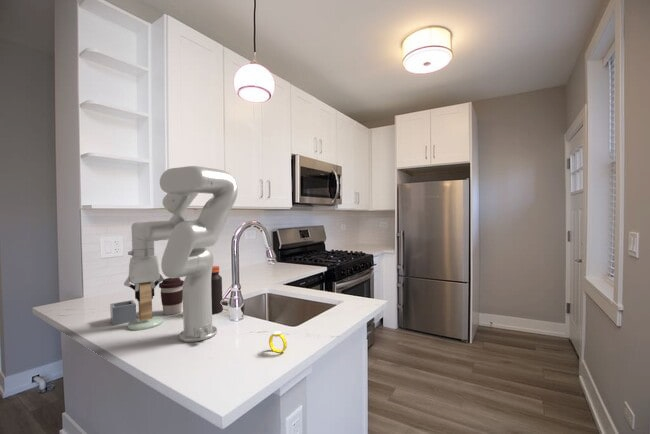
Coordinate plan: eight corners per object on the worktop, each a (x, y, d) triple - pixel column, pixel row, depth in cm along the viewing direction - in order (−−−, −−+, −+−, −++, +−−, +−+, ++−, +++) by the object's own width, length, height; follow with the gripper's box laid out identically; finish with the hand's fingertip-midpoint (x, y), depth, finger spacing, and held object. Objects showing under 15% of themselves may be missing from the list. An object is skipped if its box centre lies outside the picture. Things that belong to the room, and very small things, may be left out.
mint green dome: (166, 324, 121) (166, 321, 121) (130, 332, 113) (130, 329, 113) (159, 317, 130) (159, 314, 130) (125, 324, 122) (125, 321, 122)
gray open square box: (136, 320, 126) (135, 303, 126) (112, 325, 121) (112, 308, 121) (133, 316, 132) (132, 299, 132) (110, 320, 127) (110, 303, 127)
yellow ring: (268, 352, 95) (266, 333, 95) (273, 348, 97) (272, 330, 97) (283, 355, 92) (281, 335, 92) (289, 351, 94) (287, 331, 94)
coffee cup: (189, 309, 140) (188, 276, 140) (176, 316, 130) (175, 281, 130) (168, 308, 141) (167, 276, 141) (154, 316, 131) (153, 281, 131)
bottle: (226, 310, 136) (224, 266, 136) (213, 315, 130) (212, 268, 130) (215, 308, 140) (214, 265, 139) (203, 313, 134) (201, 267, 134)
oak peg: (152, 318, 121) (151, 283, 121) (140, 321, 118) (139, 284, 118) (150, 316, 124) (149, 281, 124) (138, 318, 121) (137, 283, 121)
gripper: (119, 256, 113) (121, 306, 113) (168, 251, 123) (170, 297, 124) (117, 254, 118) (118, 301, 119) (164, 250, 129) (165, 293, 129)
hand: (145, 298), depth 121 cm, fingers closed on oak peg, 3 cm apart
